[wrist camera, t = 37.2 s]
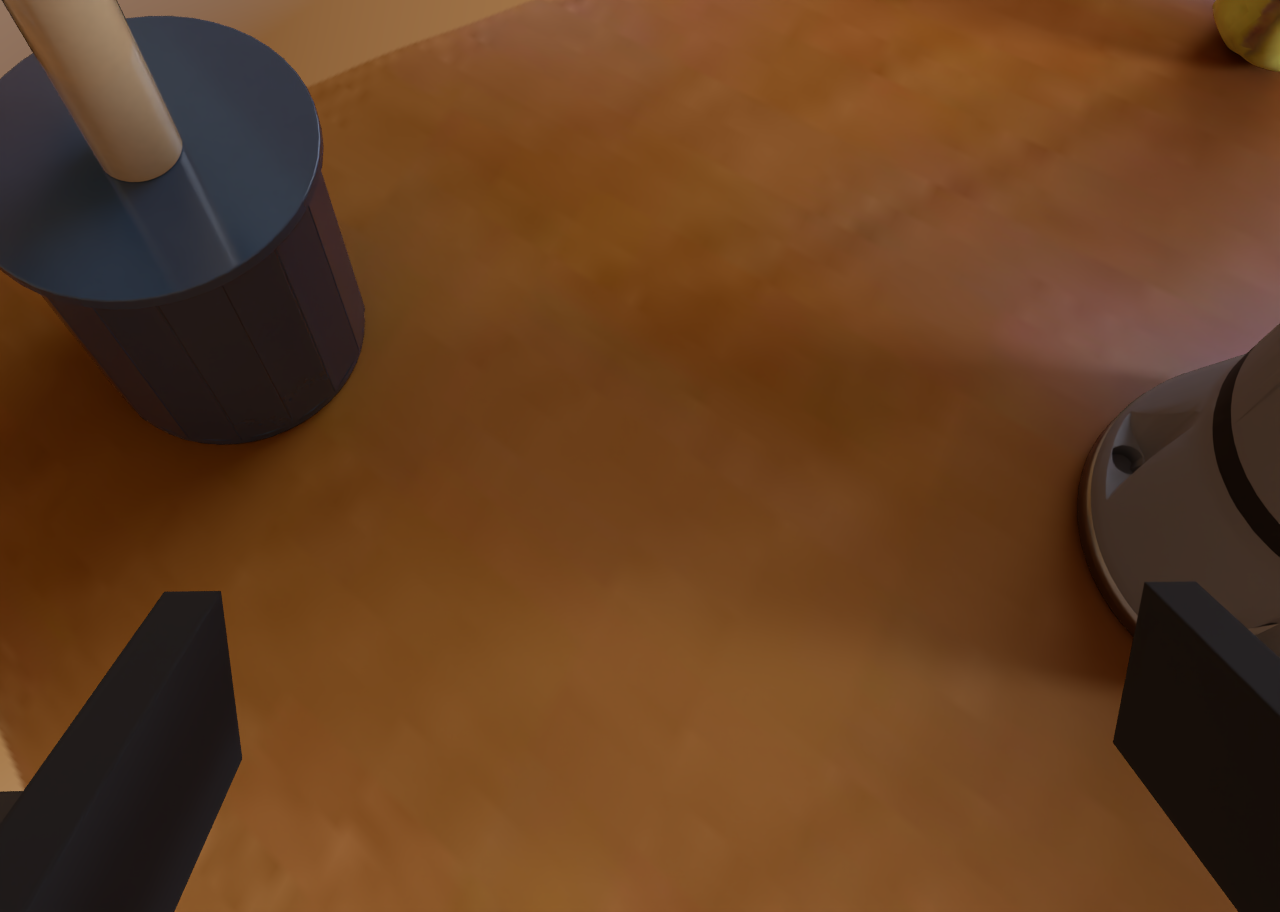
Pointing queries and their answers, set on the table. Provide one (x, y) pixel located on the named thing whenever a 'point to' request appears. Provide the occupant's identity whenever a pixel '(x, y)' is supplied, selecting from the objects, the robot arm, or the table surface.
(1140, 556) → the robot arm
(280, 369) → the dark blue cylinder
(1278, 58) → the bottle
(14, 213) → the lid
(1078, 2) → the table surface
